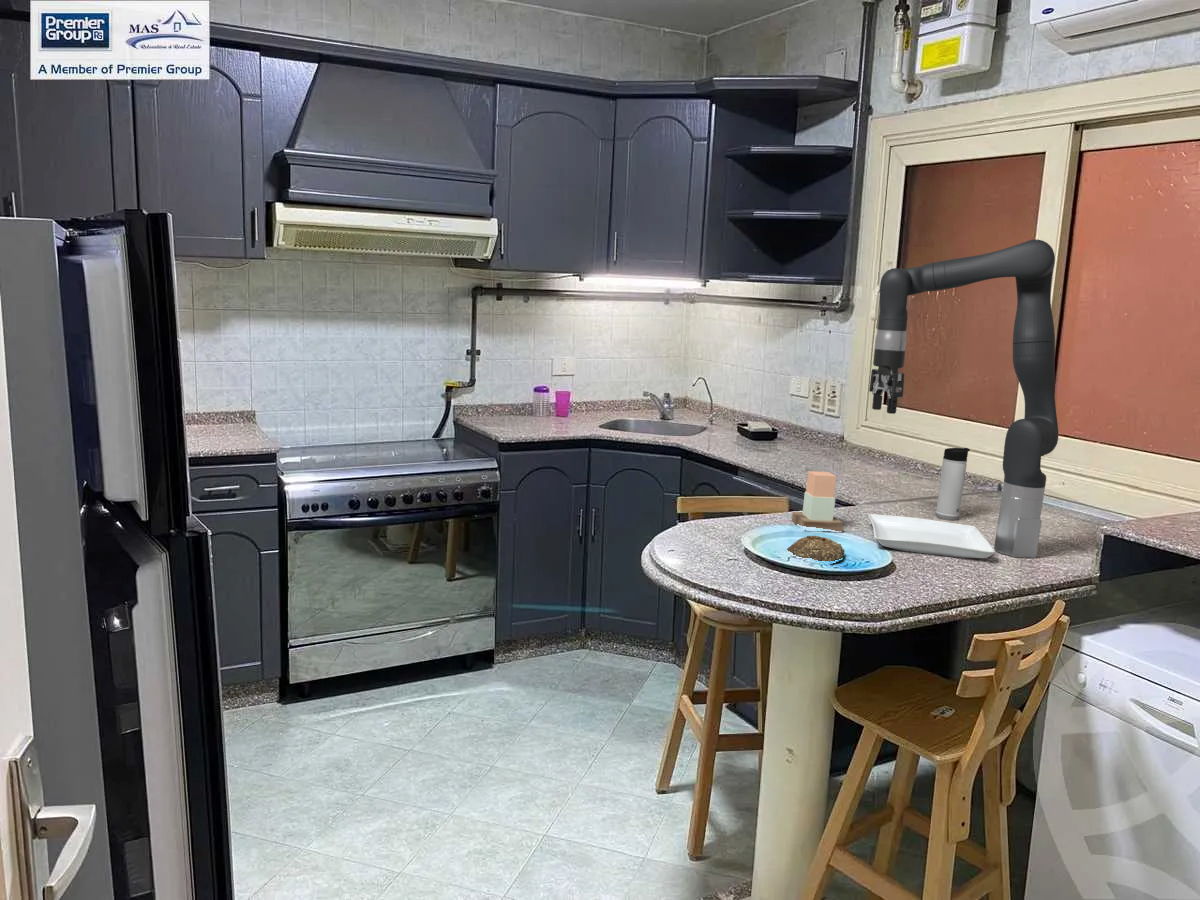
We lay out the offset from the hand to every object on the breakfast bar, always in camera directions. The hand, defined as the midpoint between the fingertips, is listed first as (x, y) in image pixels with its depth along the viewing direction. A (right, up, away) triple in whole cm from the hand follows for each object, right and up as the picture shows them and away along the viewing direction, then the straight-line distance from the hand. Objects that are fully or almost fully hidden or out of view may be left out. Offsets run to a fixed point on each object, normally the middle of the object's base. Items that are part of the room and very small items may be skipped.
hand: (883, 411), depth 241 cm
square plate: (+8, -34, -8) cm, 36 cm away
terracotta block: (-17, -21, -1) cm, 27 cm away
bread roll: (-24, -35, -27) cm, 50 cm away
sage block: (-17, -27, 0) cm, 32 cm away
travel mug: (+25, -29, +22) cm, 44 cm away
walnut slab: (-17, -30, 0) cm, 34 cm away
